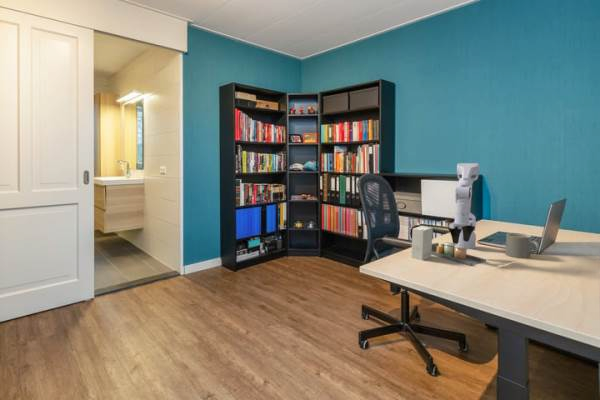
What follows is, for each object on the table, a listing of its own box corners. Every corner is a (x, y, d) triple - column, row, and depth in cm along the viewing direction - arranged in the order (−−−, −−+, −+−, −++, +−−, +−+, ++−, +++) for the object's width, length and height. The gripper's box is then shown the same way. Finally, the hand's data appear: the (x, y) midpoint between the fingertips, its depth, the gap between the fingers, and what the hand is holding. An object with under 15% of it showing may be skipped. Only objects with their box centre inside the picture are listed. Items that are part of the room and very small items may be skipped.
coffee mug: (500, 253, 162) (501, 233, 161) (514, 251, 166) (515, 232, 165) (528, 261, 150) (530, 240, 149) (542, 258, 154) (544, 237, 153)
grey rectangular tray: (437, 249, 171) (437, 242, 170) (486, 263, 148) (487, 255, 148) (421, 252, 165) (421, 245, 164) (469, 267, 142) (470, 259, 142)
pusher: (447, 252, 163) (448, 242, 163) (449, 252, 162) (450, 243, 162) (436, 254, 159) (436, 244, 159) (438, 255, 158) (438, 245, 158)
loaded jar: (448, 253, 161) (448, 241, 160) (457, 256, 157) (458, 244, 156) (441, 255, 159) (441, 243, 158) (450, 257, 154) (451, 245, 153)
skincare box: (420, 255, 160) (421, 225, 158) (432, 258, 155) (433, 227, 153) (410, 259, 154) (411, 227, 153) (422, 262, 150) (423, 229, 148)
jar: (458, 256, 156) (459, 244, 156) (468, 259, 152) (469, 246, 151) (451, 258, 154) (451, 245, 153) (461, 260, 149) (462, 248, 149)
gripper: (460, 215, 143) (458, 246, 145) (480, 212, 150) (478, 242, 152) (446, 213, 149) (444, 242, 151) (466, 210, 156) (464, 238, 158)
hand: (460, 242), depth 152 cm, fingers open, 7 cm apart
